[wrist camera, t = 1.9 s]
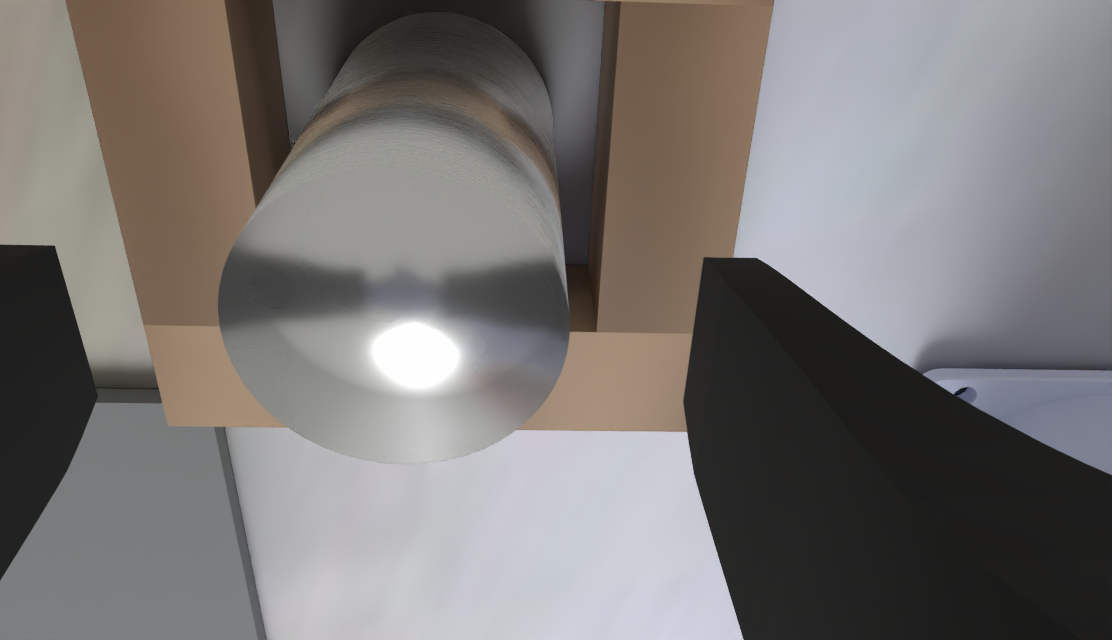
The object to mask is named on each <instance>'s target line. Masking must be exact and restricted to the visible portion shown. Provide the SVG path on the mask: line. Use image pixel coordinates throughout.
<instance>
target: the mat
mask: <svg viewBox="0 0 1112 640" xmlns="http://www.w3.org/2000/svg"><path fill="white" fill-rule="evenodd" d="M96 391H97V394H98V398H97V400H96V403H95V406H94V408H93V411H92V413H91V416H90V418H89V421H88V424H87V426H86V429H85V431H84V434H83V436H82V439H81V441H80V443H79V445H78V448H77V450H76V452H75V455H74V457H73V459H72V461H71V464H70V466H69V468H68V470H67V472H66V474H65V476H64V477H63V479H62V481H61V482H60V484H59V486H58V488H57V489H56V491H55V493H54V494H53V496H52V498H51V499H50V501H49V502H48V504H47V506H46V507H45V509H44V511H43V512H42V514H41V516H40V517H39V519H38V521H37V522H36V524H35V526H34V527H33V529H32V531H31V532H30V534H29V535H28V537H27V539H26V540H25V542H24V543H23V545H22V547H21V548H20V550H19V551H18V553H17V555H16V556H15V558H14V559H13V561H12V563H11V564H10V566H9V567H8V569H7V571H6V572H5V574H4V575H3V577H2V579H1V580H0V640H266V637H265V632H264V627H263V622H262V617H261V612H260V607H259V602H258V597H257V591H256V586H255V581H254V576H253V571H252V566H251V561H250V556H249V551H248V546H247V541H246V536H245V531H244V526H243V521H242V516H241V511H240V506H239V501H238V496H237V491H236V486H235V481H234V476H233V471H232V466H231V461H230V456H229V451H228V446H227V441H226V436H225V431H224V427H192V426H168V424H167V420H166V416H165V412H164V408H163V404H162V399H161V395H160V391H159V389H97V388H96Z"/></svg>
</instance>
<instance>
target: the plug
mask: <svg viewBox="0 0 1112 640" xmlns="http://www.w3.org/2000/svg"><path fill="white" fill-rule="evenodd" d="M218 316H219V325H220V331H221V335H222V338H223V342H224V346H225V349H226V351H227V353H228V356H229V358H230V360H231V363H232V365H233V367H234V369H235V370H236V372H237V374H238V375H239V377H240V379H241V380H242V382H243V384H244V385H245V386H246V387H247V389H248V390H249V391H250V393H251V394H252V395H253V396H254V398H255V399H256V400H257V401H258V402H259V403H260V404H261V405H262V406H263V407H264V408H265V409H266V410H267V411H268V412H269V413H270V414H271V415H273V416H274V417H275V418H276V419H278V420H279V421H280V422H281V423H283V424H284V425H285V426H286V427H288V428H290V429H291V430H293V431H294V432H296V433H298V434H299V435H301V436H302V437H304V438H306V439H308V440H310V441H312V442H314V443H316V444H318V445H320V446H322V447H324V448H327V449H330V450H332V451H335V452H338V453H340V454H343V455H347V456H351V457H355V458H358V459H362V460H368V461H374V462H380V463H391V464H425V463H433V462H440V461H446V460H450V459H454V458H458V457H462V456H466V455H469V454H471V453H474V452H477V451H479V450H482V449H485V448H486V447H488V446H490V445H492V444H494V443H496V442H498V441H500V440H502V439H504V438H505V437H507V436H508V435H509V434H511V433H512V432H514V431H515V430H517V429H518V428H519V427H521V426H522V425H523V424H524V423H525V422H526V421H527V420H529V419H530V418H531V417H532V416H533V415H534V414H535V412H536V411H537V410H538V409H539V408H540V407H541V406H542V404H543V403H544V402H545V401H546V399H547V397H548V396H549V394H550V393H551V391H552V390H553V388H554V387H555V385H556V382H557V380H558V378H559V376H560V374H561V372H562V369H563V366H564V362H565V359H566V355H567V351H568V344H569V336H570V321H569V304H568V293H567V281H566V269H565V257H564V245H563V233H562V222H561V210H560V198H559V186H558V174H557V162H556V151H555V139H554V127H553V115H552V109H551V103H550V98H549V95H548V92H547V89H546V86H545V84H544V81H543V79H542V77H541V75H540V73H539V71H538V70H537V68H536V67H535V65H534V63H533V62H532V60H531V59H530V58H529V57H528V55H527V54H526V53H525V52H524V51H523V49H522V48H520V47H519V46H518V45H517V44H516V43H515V42H514V41H513V40H512V39H511V38H509V37H508V36H507V35H505V34H504V33H502V32H501V31H500V30H498V29H496V28H494V27H492V26H491V25H489V24H487V23H485V22H482V21H480V20H477V19H474V18H472V17H468V16H464V15H460V14H456V13H446V12H424V13H418V14H412V15H408V16H405V17H402V18H399V19H395V20H393V21H391V22H389V23H387V24H385V25H383V26H381V27H380V28H378V29H377V30H375V31H374V32H372V33H371V34H369V35H368V36H367V37H366V38H365V39H364V40H363V41H362V42H360V43H359V44H358V46H357V47H356V48H355V49H354V50H353V52H352V53H351V54H350V55H349V57H348V59H347V60H346V62H345V64H344V65H343V67H342V68H341V70H340V72H339V73H338V75H337V77H336V78H335V80H334V82H333V83H332V85H331V86H330V88H329V90H328V91H327V93H326V95H325V96H324V98H323V100H322V101H321V103H320V104H319V106H318V108H317V109H316V111H315V113H314V114H313V116H312V118H311V119H310V121H309V122H308V124H307V126H306V127H305V129H304V131H303V132H302V134H301V136H300V137H299V139H298V140H297V142H296V144H295V145H294V147H293V149H292V150H291V152H290V154H289V155H288V157H287V158H286V160H285V162H284V163H283V165H282V167H281V168H280V170H279V172H278V173H277V175H276V176H275V178H274V180H273V181H272V183H271V185H270V186H269V188H268V190H267V191H266V193H265V194H264V196H263V198H262V199H261V201H260V203H259V204H258V206H257V208H256V209H255V211H254V212H253V214H252V216H251V217H250V219H249V221H248V222H247V224H246V226H245V227H244V229H243V230H242V232H241V234H240V235H239V237H238V239H237V240H236V242H235V244H234V245H233V247H232V249H231V250H230V253H229V255H228V258H227V260H226V263H225V265H224V268H223V271H222V276H221V281H220V285H219V293H218Z"/></svg>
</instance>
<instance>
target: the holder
mask: <svg viewBox="0 0 1112 640" xmlns="http://www.w3.org/2000/svg"><path fill="white" fill-rule="evenodd" d="M595 1H605V7H604V22H603V38H602V53H601V69H600V84H599V100H598V115H597V131H596V146H595V162H594V177H593V193H592V208H591V224H590V239H589V255H588V265H565V269H566V281H567V293H568V304H569V321H570V336H569V344H568V351H567V355H566V359H565V362H564V366H563V369H562V372H561V374H560V376H559V378H558V380H557V382H556V385H555V387H554V388H553V390H552V391H551V393H550V394H549V396H548V397H547V399H546V401H545V402H544V403H543V404H542V406H541V407H540V408H539V409H538V410H537V411H536V412H535V414H534V415H533V416H532V417H531V418H530V419H529V420H527V421H526V422H525V423H524V424H523V425H522V426H521V427H519V428H518V429H517V430H572V431H667V432H687V426H686V419H685V412H684V405H683V399H684V392H685V385H686V378H687V371H688V364H689V357H690V350H691V343H692V336H693V328H694V321H695V314H696V307H697V300H698V293H699V286H700V279H701V272H702V265H703V258H704V257H719V258H733V253H734V247H735V241H736V235H737V229H738V222H739V216H740V210H741V204H742V197H743V191H744V185H745V179H746V172H747V166H748V160H749V154H750V147H751V141H752V135H753V129H754V122H755V116H756V110H757V104H758V97H759V91H760V85H761V79H762V73H763V66H764V60H765V54H766V48H767V41H768V35H769V29H770V23H771V16H772V10H773V4H774V0H595ZM66 4H67V9H68V13H69V17H70V21H71V25H72V29H73V34H74V38H75V42H76V46H77V50H78V54H79V59H80V63H81V67H82V71H83V75H84V79H85V83H86V88H87V92H88V96H89V100H90V104H91V108H92V113H93V117H94V121H95V125H96V129H97V133H98V138H99V142H100V146H101V150H102V154H103V158H104V162H105V167H106V171H107V175H108V179H109V183H110V187H111V192H112V196H113V200H114V204H115V208H116V212H117V217H118V221H119V225H120V229H121V233H122V237H123V241H124V246H125V250H126V254H127V258H128V262H129V266H130V271H131V275H132V279H133V283H134V287H135V291H136V295H137V300H138V304H139V308H140V312H141V316H142V320H143V325H144V329H145V333H146V337H147V341H148V345H149V350H150V354H151V358H152V362H153V366H154V370H155V374H156V379H157V383H158V387H159V391H160V395H161V399H162V404H163V408H164V412H165V416H166V420H167V424H168V426H192V427H286V426H285V425H284V424H283V423H281V422H280V421H279V420H278V419H276V418H275V417H274V416H273V415H271V414H270V413H269V412H268V411H267V410H266V409H265V408H264V407H263V406H262V405H261V404H260V403H259V402H258V401H257V400H256V399H255V398H254V396H253V395H252V394H251V393H250V391H249V390H248V389H247V387H246V386H245V385H244V384H243V382H242V380H241V379H240V377H239V375H238V374H237V372H236V370H235V369H234V367H233V365H232V363H231V360H230V358H229V356H228V353H227V351H226V349H225V346H224V342H223V338H222V335H221V331H220V325H219V316H218V293H219V285H220V281H221V276H222V271H223V268H224V265H225V263H226V260H227V258H228V255H229V253H230V250H231V249H232V247H233V245H234V244H235V242H236V240H237V239H238V237H239V235H240V234H241V232H242V230H243V229H244V227H245V226H246V224H247V222H248V221H249V219H250V217H251V216H252V214H253V212H254V211H255V209H256V208H257V206H258V204H259V203H260V201H261V199H262V198H263V196H264V194H265V193H266V191H267V190H268V188H269V186H270V185H271V183H272V181H273V180H274V178H275V176H276V175H277V173H278V172H279V170H280V168H281V167H282V165H283V163H284V162H285V160H286V158H287V157H288V155H289V154H290V144H289V136H288V127H287V119H286V111H285V103H284V95H283V87H282V79H281V71H280V63H279V55H278V47H277V39H276V31H275V23H274V14H273V6H272V0H66ZM287 428H288V427H287Z"/></svg>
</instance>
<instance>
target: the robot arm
mask: <svg viewBox="0 0 1112 640" xmlns="http://www.w3.org/2000/svg"><path fill="white" fill-rule="evenodd" d="M965 387H968V388H967V390H966V391H965V392H964V393H962V394H960V395H954V393H955V392H956V391H958V390H959V389H961V388H965ZM97 398H98V394H97V391H96V387H95V384H94V380H93V377H92V373H91V370H90V367H89V363H88V360H87V356H86V353H85V349H84V346H83V342H82V339H81V335H80V332H79V328H78V325H77V321H76V318H75V315H74V311H73V308H72V304H71V301H70V297H69V294H68V290H67V287H66V283H65V280H64V276H63V273H62V269H61V266H60V262H59V259H58V256H57V252H56V249H55V246H42V245H0V580H1V579H2V577H3V575H4V574H5V572H6V571H7V569H8V567H9V566H10V564H11V563H12V561H13V559H14V558H15V556H16V555H17V553H18V551H19V550H20V548H21V547H22V545H23V543H24V542H25V540H26V539H27V537H28V535H29V534H30V532H31V531H32V529H33V527H34V526H35V524H36V522H37V521H38V519H39V517H40V516H41V514H42V512H43V511H44V509H45V507H46V506H47V504H48V502H49V501H50V499H51V498H52V496H53V494H54V493H55V491H56V489H57V488H58V486H59V484H60V482H61V481H62V479H63V477H64V476H65V474H66V472H67V470H68V468H69V466H70V464H71V461H72V459H73V457H74V455H75V452H76V450H77V448H78V445H79V443H80V441H81V439H82V436H83V434H84V431H85V429H86V426H87V424H88V421H89V418H90V416H91V413H92V411H93V408H94V406H95V403H96V400H97ZM683 405H684V412H685V419H686V426H687V433H688V440H689V446H690V452H691V458H692V464H693V470H694V475H695V479H696V482H697V486H698V489H699V493H700V496H701V500H702V503H703V506H704V510H705V513H706V516H707V520H708V523H709V527H710V530H711V533H712V537H713V540H714V543H715V546H716V550H717V553H718V556H719V560H720V563H721V566H722V570H723V573H724V576H725V579H726V583H727V586H728V589H729V593H730V596H731V599H732V603H733V606H734V609H735V612H736V616H737V619H738V622H739V626H740V629H741V632H742V636H743V639H744V640H1112V371H1103V370H1032V369H961V368H939V369H932V370H930V371H928V372H926V373H924V374H921V373H919V372H918V371H916V370H915V369H913V368H911V367H910V366H908V365H907V364H905V363H904V362H902V361H901V360H899V359H898V358H896V357H895V356H893V355H892V354H890V353H889V352H887V351H886V350H884V349H883V348H881V347H880V346H879V345H877V344H876V343H874V342H873V341H871V340H870V339H869V338H867V337H866V336H864V335H863V334H862V333H860V332H859V331H857V330H856V329H855V328H853V327H852V326H850V325H849V324H848V323H846V322H845V321H844V320H842V319H841V318H840V317H838V316H837V315H835V314H834V313H833V312H831V311H830V310H829V309H827V308H826V307H825V306H823V305H822V304H821V303H819V302H818V301H817V300H815V299H814V298H813V297H811V296H810V295H809V294H807V293H806V292H805V291H803V290H802V289H801V288H799V287H798V286H797V285H795V284H794V283H793V282H791V281H790V280H789V279H787V278H786V277H785V276H783V275H782V274H780V273H779V272H778V271H776V270H775V269H773V268H772V267H770V266H769V265H767V264H766V263H764V262H762V261H761V260H759V259H757V258H719V257H704V258H703V265H702V272H701V279H700V286H699V293H698V300H697V307H696V314H695V321H694V328H693V336H692V343H691V350H690V357H689V364H688V371H687V378H686V385H685V392H684V399H683Z"/></svg>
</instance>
